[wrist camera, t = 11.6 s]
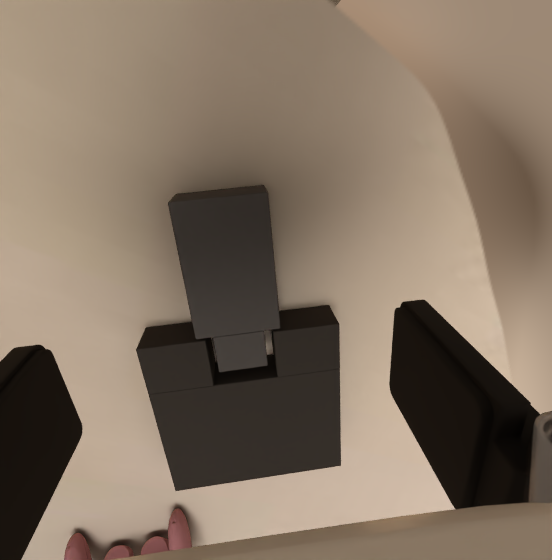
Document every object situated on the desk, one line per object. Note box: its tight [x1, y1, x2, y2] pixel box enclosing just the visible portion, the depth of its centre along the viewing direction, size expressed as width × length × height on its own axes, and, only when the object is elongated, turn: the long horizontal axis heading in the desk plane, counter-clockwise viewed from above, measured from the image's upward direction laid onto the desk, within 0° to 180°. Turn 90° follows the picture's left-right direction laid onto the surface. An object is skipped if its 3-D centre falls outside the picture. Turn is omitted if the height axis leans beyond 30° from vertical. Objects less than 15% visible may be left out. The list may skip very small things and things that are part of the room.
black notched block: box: [136, 305, 341, 491], centre depth 24 cm, size 12×12×2 cm
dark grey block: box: [168, 185, 280, 372], centre depth 21 cm, size 10×5×2 cm, turn 5°
